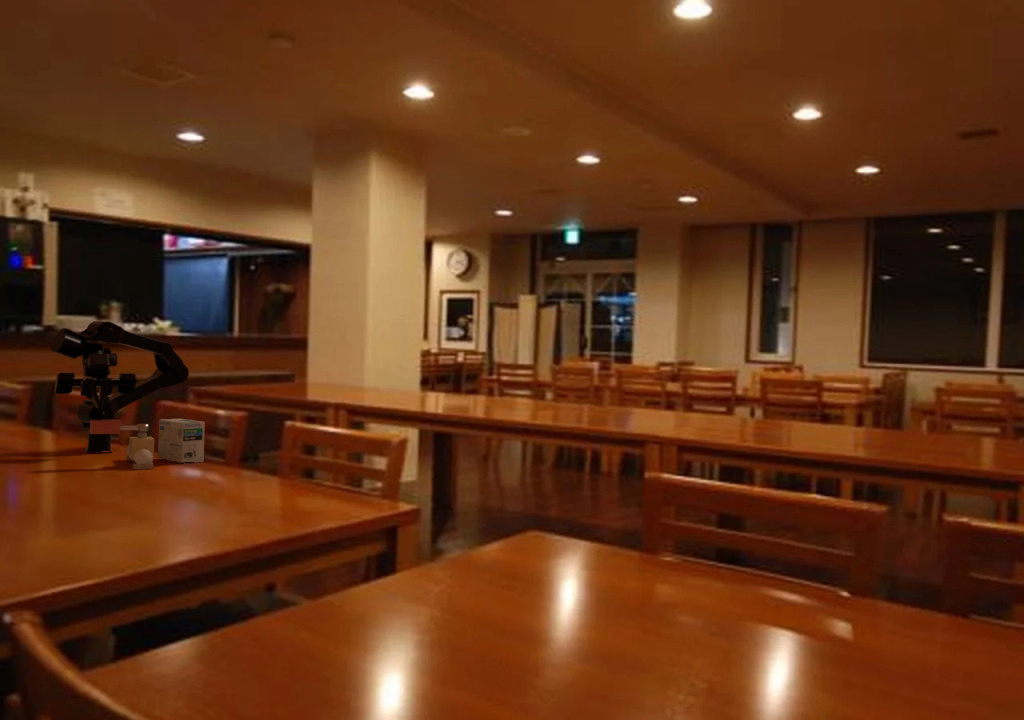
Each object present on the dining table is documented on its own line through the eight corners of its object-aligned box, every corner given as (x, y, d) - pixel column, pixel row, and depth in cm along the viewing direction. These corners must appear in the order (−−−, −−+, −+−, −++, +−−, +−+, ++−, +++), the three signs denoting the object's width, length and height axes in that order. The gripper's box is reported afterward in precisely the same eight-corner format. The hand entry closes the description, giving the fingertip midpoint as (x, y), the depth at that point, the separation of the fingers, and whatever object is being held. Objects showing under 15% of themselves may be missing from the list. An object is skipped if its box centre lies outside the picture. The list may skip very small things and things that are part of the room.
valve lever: (89, 432, 198) (90, 419, 198) (147, 432, 204) (148, 419, 204) (90, 434, 195) (91, 420, 195) (149, 433, 202) (149, 420, 202)
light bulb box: (204, 462, 214) (206, 421, 214) (182, 464, 208) (183, 422, 208) (178, 457, 220) (180, 417, 220) (156, 459, 214) (158, 418, 214)
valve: (124, 459, 211) (125, 426, 211) (144, 458, 214) (146, 426, 214) (132, 469, 197) (133, 434, 197) (154, 468, 199) (156, 434, 199)
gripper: (57, 341, 208) (62, 387, 199) (136, 343, 219) (144, 387, 210) (53, 370, 215) (57, 416, 206) (129, 370, 226) (136, 414, 217)
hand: (99, 407), depth 210 cm, fingers closed
